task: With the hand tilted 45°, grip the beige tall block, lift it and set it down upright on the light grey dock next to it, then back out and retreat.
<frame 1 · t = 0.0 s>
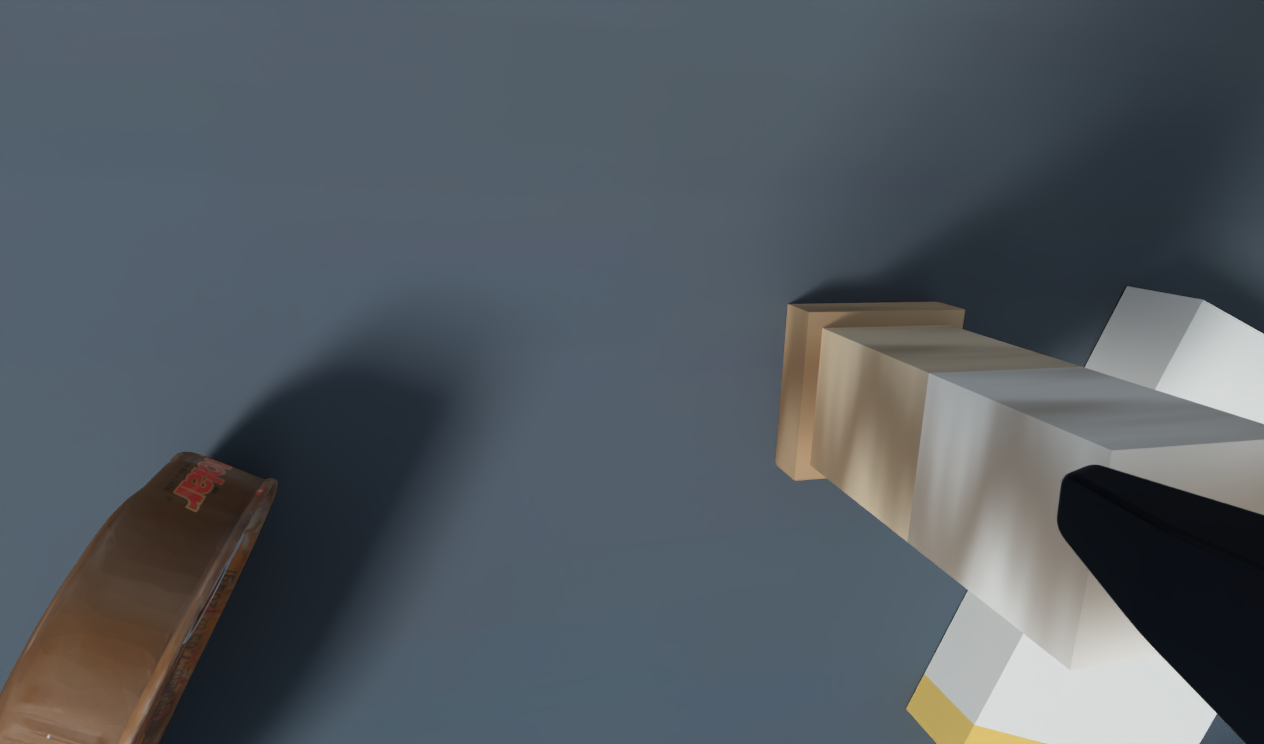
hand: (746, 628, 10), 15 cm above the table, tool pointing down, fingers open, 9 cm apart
beige tall block: (856, 382, 27), on the table
tin: (147, 637, 24), on the table
dock: (1112, 544, 32), on the table
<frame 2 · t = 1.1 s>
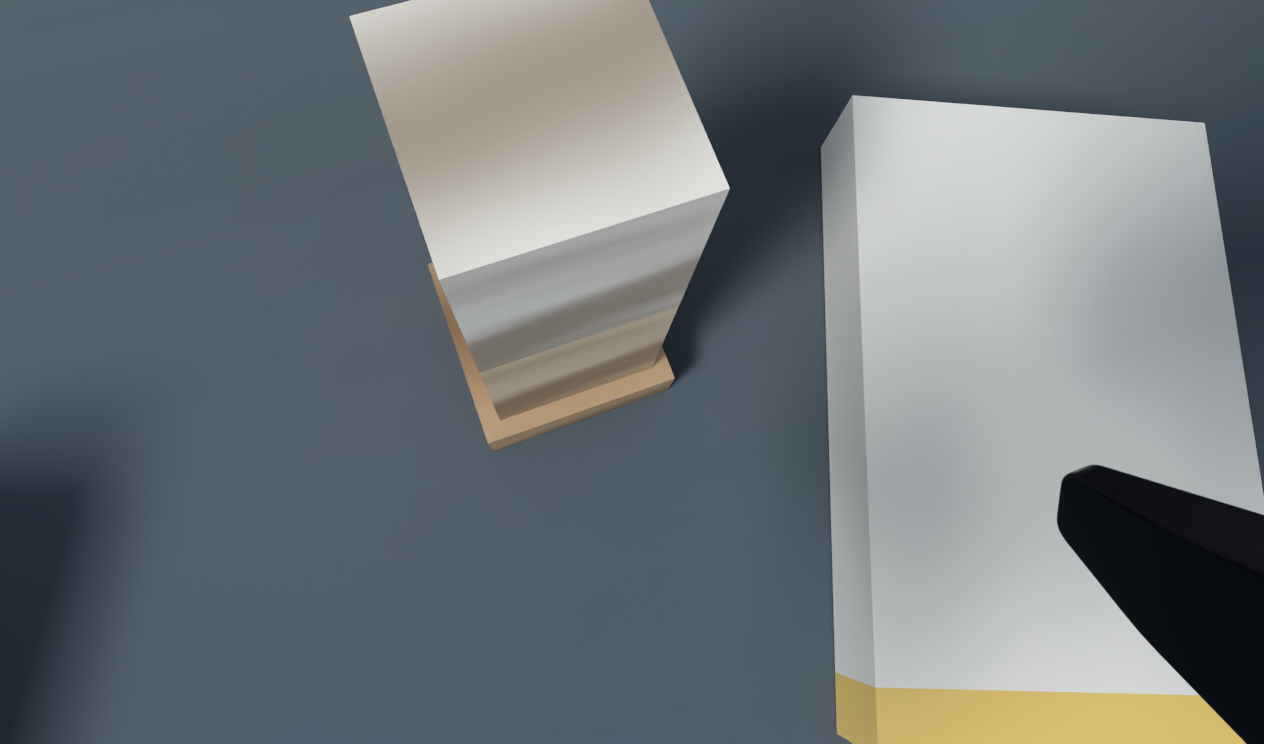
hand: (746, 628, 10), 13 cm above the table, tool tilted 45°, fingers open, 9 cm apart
beige tall block: (551, 335, 24), on the table
dock: (1002, 422, 25), on the table
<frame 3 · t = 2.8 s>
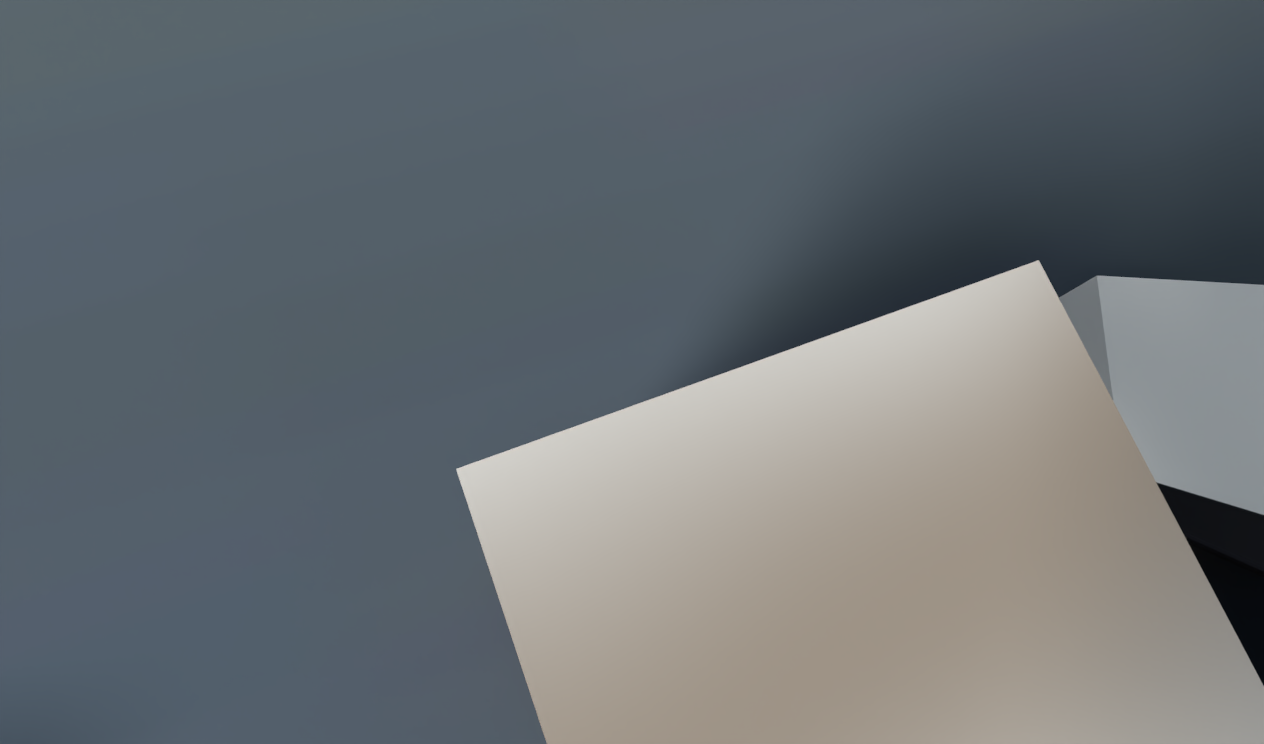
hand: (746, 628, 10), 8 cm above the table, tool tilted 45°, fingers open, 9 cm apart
beige tall block: (668, 610, 17), on the table
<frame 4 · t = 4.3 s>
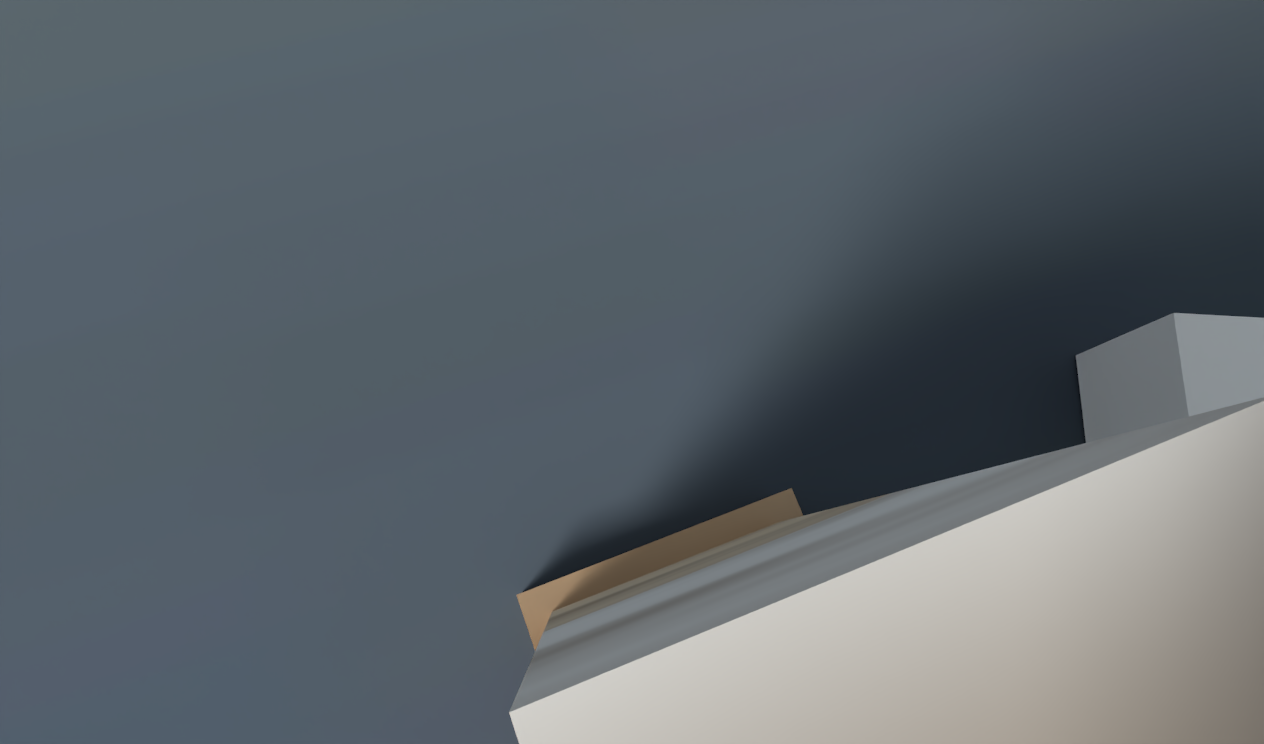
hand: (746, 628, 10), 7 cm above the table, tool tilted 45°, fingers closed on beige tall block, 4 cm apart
beige tall block: (700, 676, 16), on the table, touching gripper
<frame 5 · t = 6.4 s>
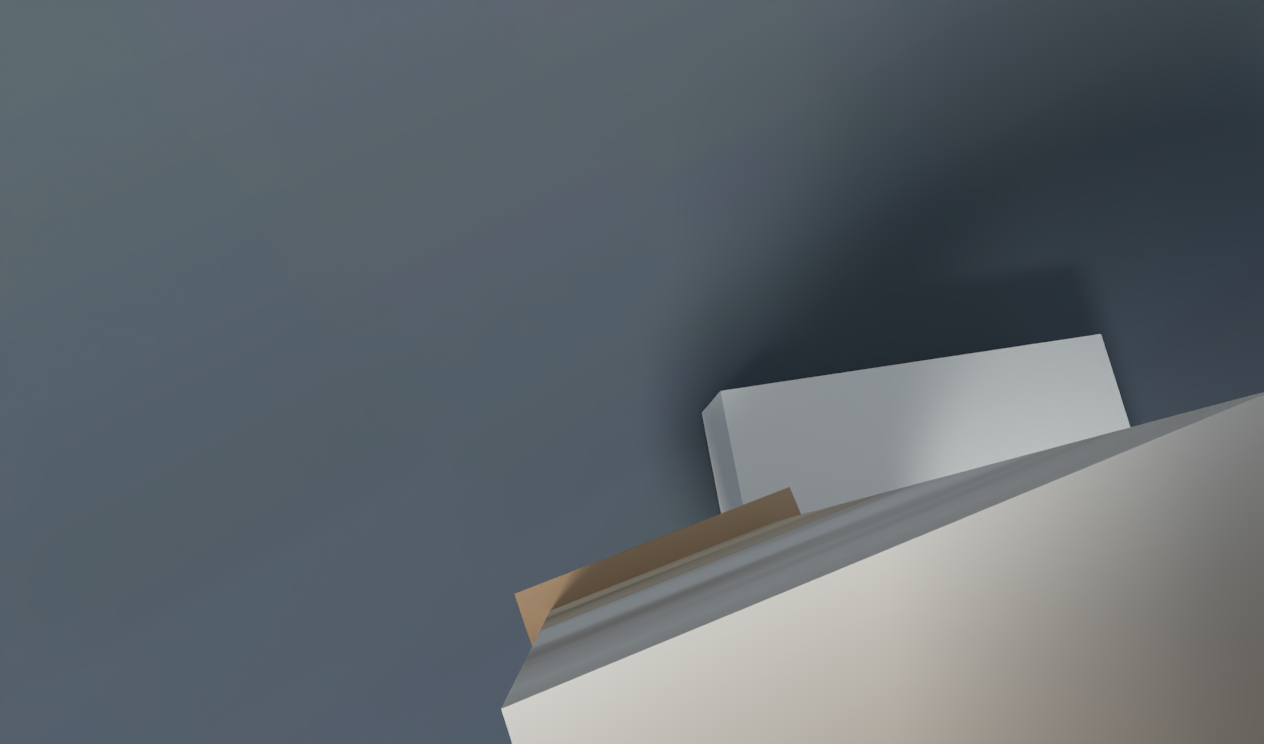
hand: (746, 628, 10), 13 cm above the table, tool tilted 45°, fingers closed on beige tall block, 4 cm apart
beige tall block: (698, 675, 16), point 7 cm above the table, touching gripper
dock: (949, 692, 23), on the table
when the fingers open (11 cm above the table, at t = 8.4 s): beige tall block drops 1 cm, resting on dock.
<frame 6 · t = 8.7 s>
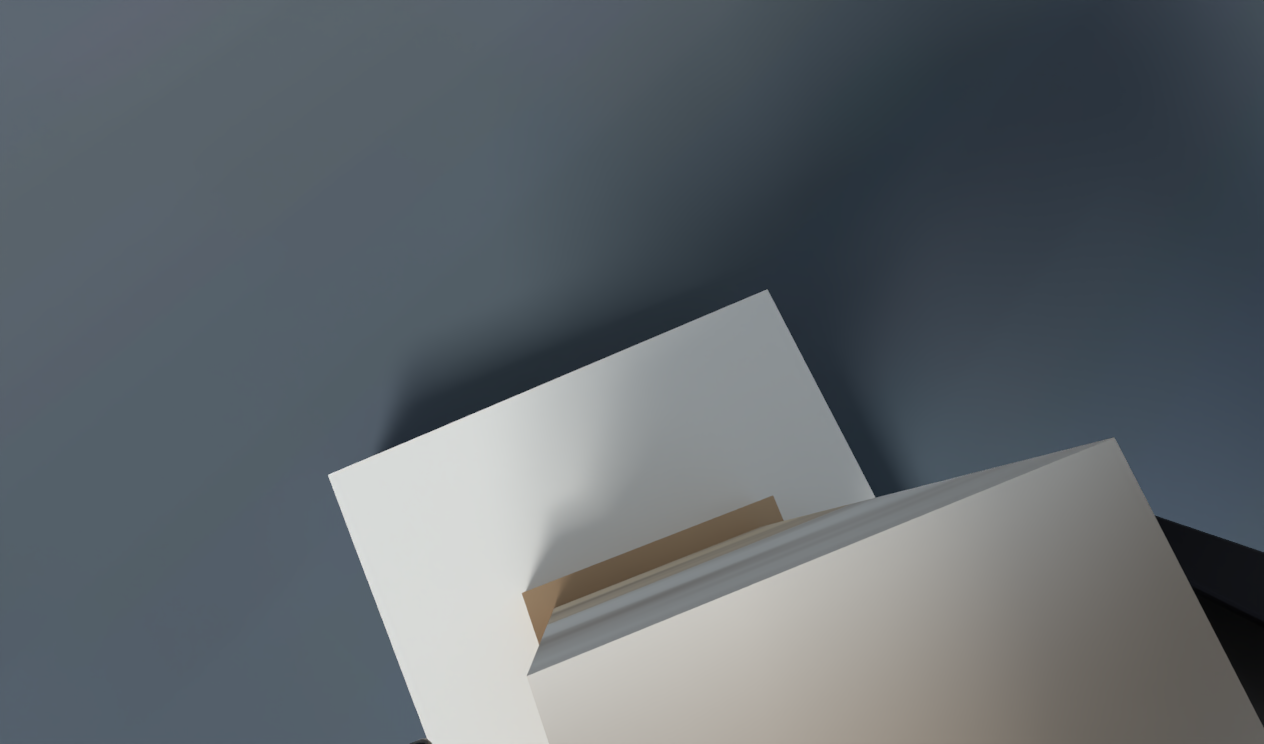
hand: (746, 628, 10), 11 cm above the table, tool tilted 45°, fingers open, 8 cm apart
beige tall block: (689, 668, 17), point 3 cm above the table, touching dock
dock: (706, 732, 20), on the table
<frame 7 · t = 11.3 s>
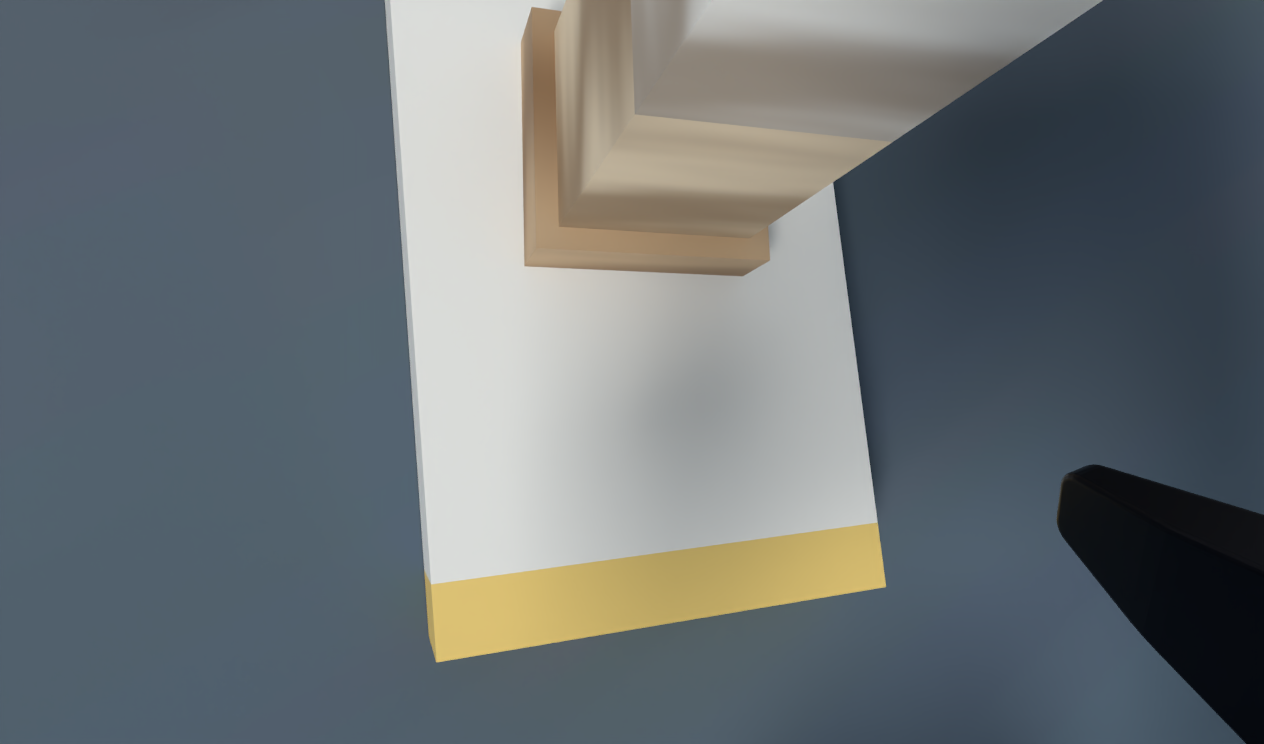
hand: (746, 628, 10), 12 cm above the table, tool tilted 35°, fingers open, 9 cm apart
beige tall block: (634, 162, 20), point 3 cm above the table, touching dock
dock: (609, 272, 22), on the table
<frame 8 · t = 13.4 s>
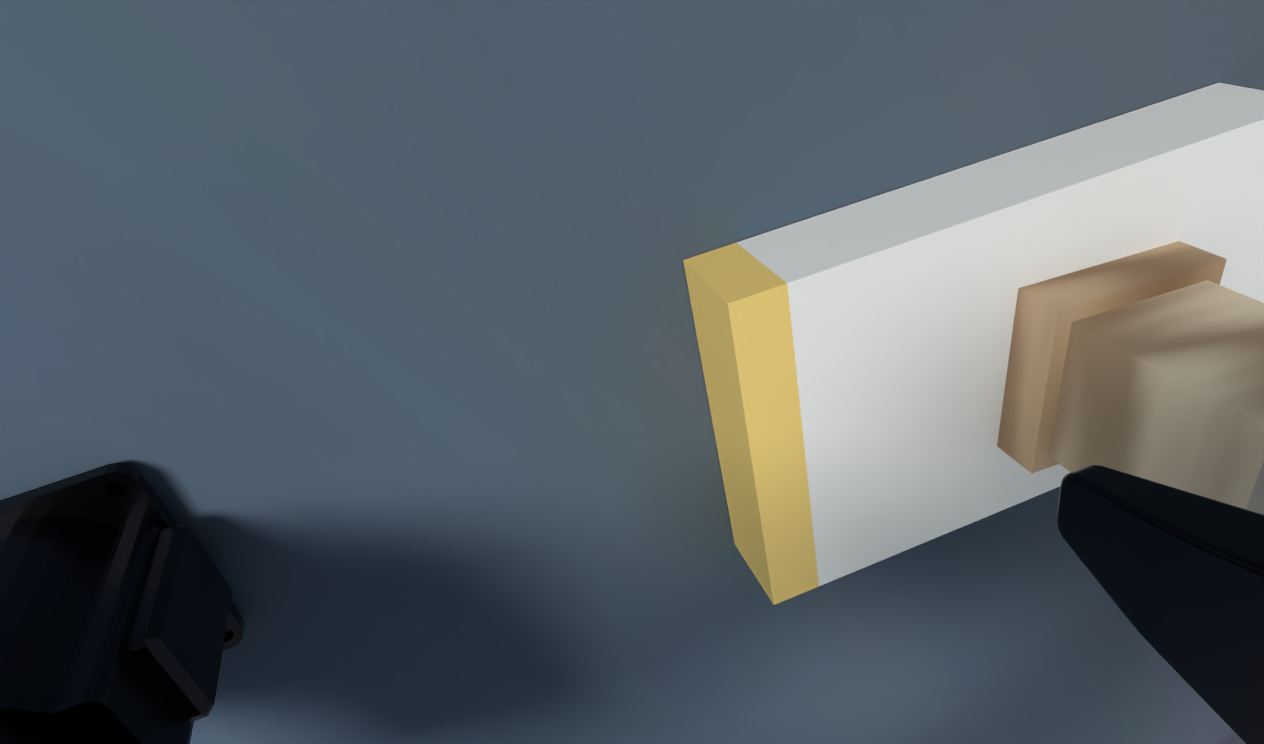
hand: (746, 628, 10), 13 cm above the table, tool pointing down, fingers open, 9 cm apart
beige tall block: (1084, 347, 24), point 3 cm above the table, touching dock
dock: (962, 326, 26), on the table
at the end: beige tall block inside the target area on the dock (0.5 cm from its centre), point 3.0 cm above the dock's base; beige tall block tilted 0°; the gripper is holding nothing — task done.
